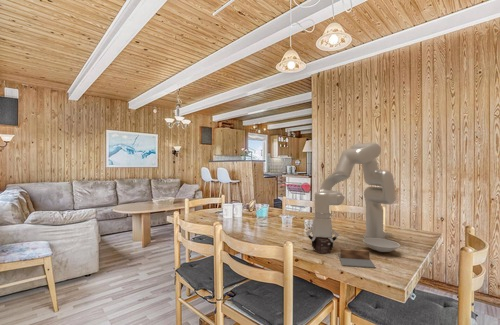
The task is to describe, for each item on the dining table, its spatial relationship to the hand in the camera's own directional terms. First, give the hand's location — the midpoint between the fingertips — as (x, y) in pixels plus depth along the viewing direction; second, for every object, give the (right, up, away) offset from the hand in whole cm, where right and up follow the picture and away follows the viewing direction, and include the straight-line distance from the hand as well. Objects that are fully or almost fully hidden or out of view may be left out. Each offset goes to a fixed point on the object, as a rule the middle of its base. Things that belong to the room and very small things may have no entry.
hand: (322, 248), depth 133 cm
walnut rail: (+13, -2, -11) cm, 17 cm away
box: (0, -2, 0) cm, 2 cm away
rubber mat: (+12, -2, -13) cm, 18 cm away
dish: (+30, -2, -1) cm, 30 cm away
